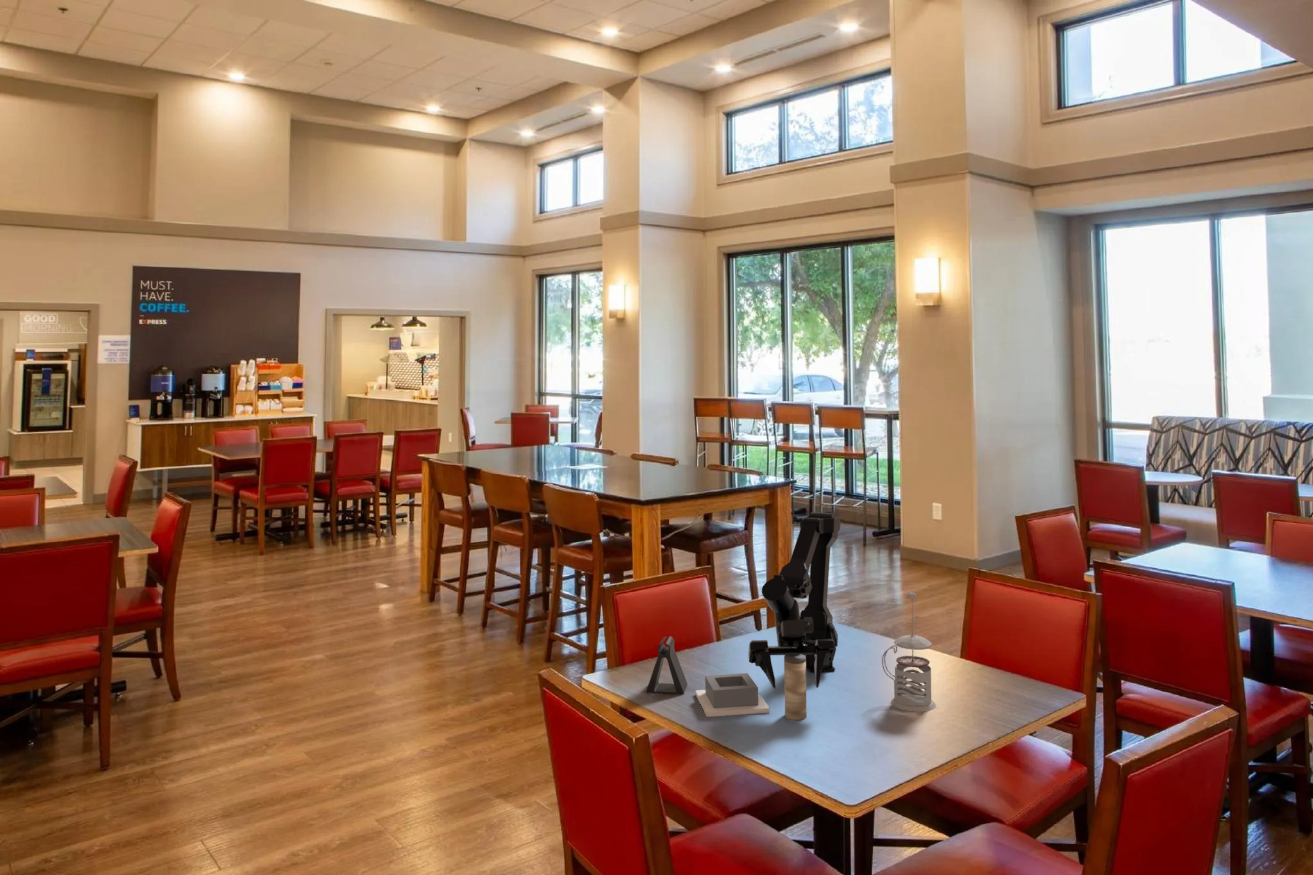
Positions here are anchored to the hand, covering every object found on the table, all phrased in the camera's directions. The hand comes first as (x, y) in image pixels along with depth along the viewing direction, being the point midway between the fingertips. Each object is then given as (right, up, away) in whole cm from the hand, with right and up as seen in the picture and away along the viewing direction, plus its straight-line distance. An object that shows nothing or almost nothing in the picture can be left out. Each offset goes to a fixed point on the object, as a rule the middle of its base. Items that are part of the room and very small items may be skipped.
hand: (796, 687), depth 181 cm
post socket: (-13, -7, +10) cm, 18 cm away
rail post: (0, -7, +2) cm, 7 cm away
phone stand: (-27, -7, +20) cm, 35 cm away
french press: (+27, -6, +8) cm, 28 cm away
